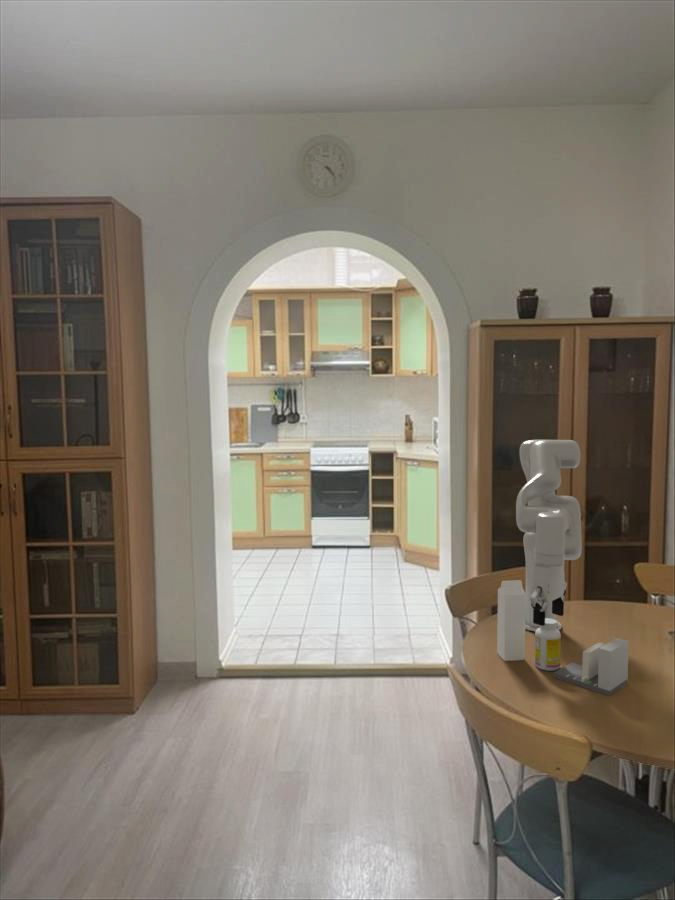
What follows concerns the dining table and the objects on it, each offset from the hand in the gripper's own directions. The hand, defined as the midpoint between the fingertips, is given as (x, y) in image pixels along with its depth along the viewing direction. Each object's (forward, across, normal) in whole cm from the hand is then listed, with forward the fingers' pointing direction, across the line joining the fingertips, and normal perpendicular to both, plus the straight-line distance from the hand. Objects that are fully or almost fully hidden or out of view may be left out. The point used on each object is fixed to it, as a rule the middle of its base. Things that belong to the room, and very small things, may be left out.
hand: (548, 619), depth 181 cm
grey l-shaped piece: (+13, +1, +13) cm, 18 cm away
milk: (+13, +2, -10) cm, 17 cm away
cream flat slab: (+11, +2, +14) cm, 17 cm away
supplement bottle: (+13, +1, +1) cm, 13 cm away
